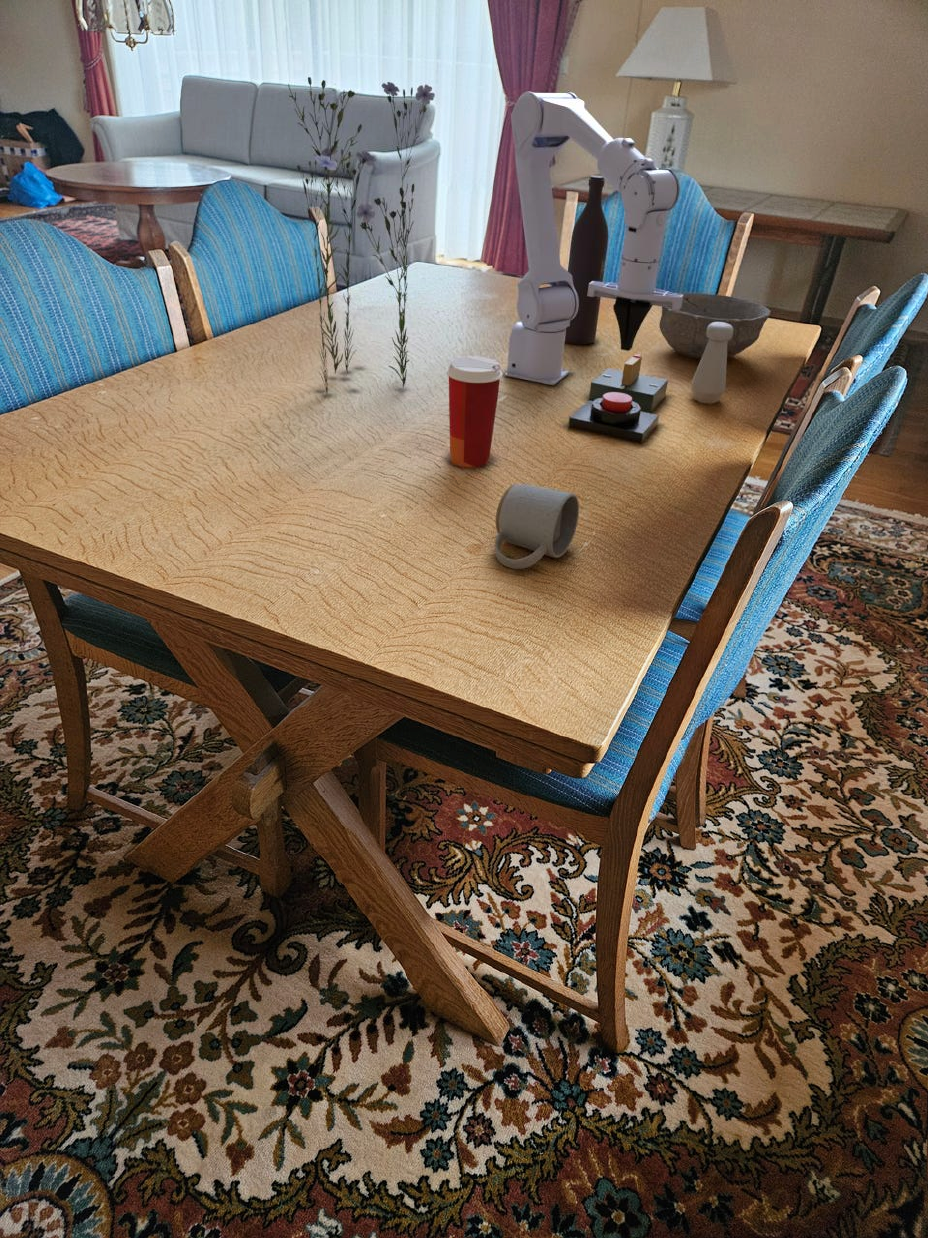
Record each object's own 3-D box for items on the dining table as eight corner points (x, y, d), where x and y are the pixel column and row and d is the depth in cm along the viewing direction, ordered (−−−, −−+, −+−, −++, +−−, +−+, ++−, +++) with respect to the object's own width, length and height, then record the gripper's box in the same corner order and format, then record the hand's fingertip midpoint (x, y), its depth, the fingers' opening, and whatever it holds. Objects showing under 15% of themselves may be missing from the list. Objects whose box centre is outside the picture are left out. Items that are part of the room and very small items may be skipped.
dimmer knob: (629, 385, 145) (632, 363, 143) (621, 384, 145) (624, 361, 143) (638, 376, 149) (642, 354, 147) (631, 375, 149) (634, 353, 147)
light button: (597, 409, 135) (599, 398, 134) (606, 400, 138) (608, 389, 137) (625, 415, 133) (627, 404, 132) (634, 406, 137) (636, 395, 136)
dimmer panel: (588, 399, 147) (590, 381, 145) (606, 383, 154) (608, 366, 152) (650, 413, 143) (653, 394, 141) (665, 395, 150) (669, 378, 149)
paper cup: (502, 454, 126) (510, 359, 118) (486, 474, 120) (493, 376, 112) (452, 444, 128) (456, 351, 120) (434, 464, 122) (437, 367, 114)
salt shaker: (722, 407, 147) (740, 330, 140) (689, 403, 148) (704, 326, 141) (721, 395, 152) (738, 320, 145) (688, 392, 153) (703, 317, 145)
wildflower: (278, 397, 141) (254, 73, 116) (329, 356, 159) (317, 68, 134) (410, 415, 137) (414, 84, 112) (446, 371, 156) (456, 78, 130)
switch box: (568, 427, 136) (570, 406, 134) (587, 410, 143) (589, 389, 141) (641, 443, 132) (645, 422, 130) (657, 425, 139) (661, 404, 137)
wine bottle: (596, 346, 173) (618, 180, 156) (561, 344, 172) (580, 178, 156) (592, 335, 178) (613, 174, 161) (558, 334, 178) (576, 172, 161)
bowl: (770, 354, 174) (783, 303, 168) (739, 380, 159) (752, 326, 153) (673, 334, 182) (682, 285, 177) (635, 357, 168) (644, 304, 162)
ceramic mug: (517, 523, 108) (521, 468, 104) (576, 541, 105) (584, 485, 101) (476, 560, 101) (479, 502, 96) (539, 581, 98) (546, 521, 93)
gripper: (693, 260, 131) (676, 349, 138) (601, 247, 135) (590, 334, 143) (684, 269, 125) (666, 361, 133) (588, 255, 130) (577, 345, 137)
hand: (626, 348), depth 138 cm, fingers closed
